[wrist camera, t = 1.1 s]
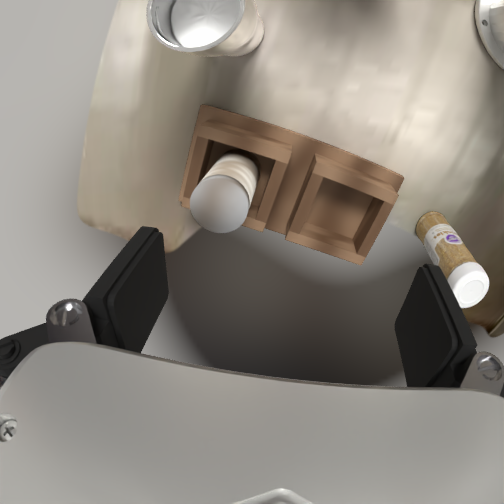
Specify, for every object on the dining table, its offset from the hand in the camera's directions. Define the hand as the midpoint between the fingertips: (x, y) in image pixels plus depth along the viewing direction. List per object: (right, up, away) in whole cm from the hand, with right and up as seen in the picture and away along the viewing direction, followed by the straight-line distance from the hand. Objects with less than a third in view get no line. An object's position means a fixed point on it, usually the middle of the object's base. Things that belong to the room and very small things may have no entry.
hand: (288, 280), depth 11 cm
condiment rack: (+3, +9, +25) cm, 27 cm away
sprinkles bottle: (+22, +4, +26) cm, 34 cm away
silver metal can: (-3, +24, +17) cm, 30 cm away
